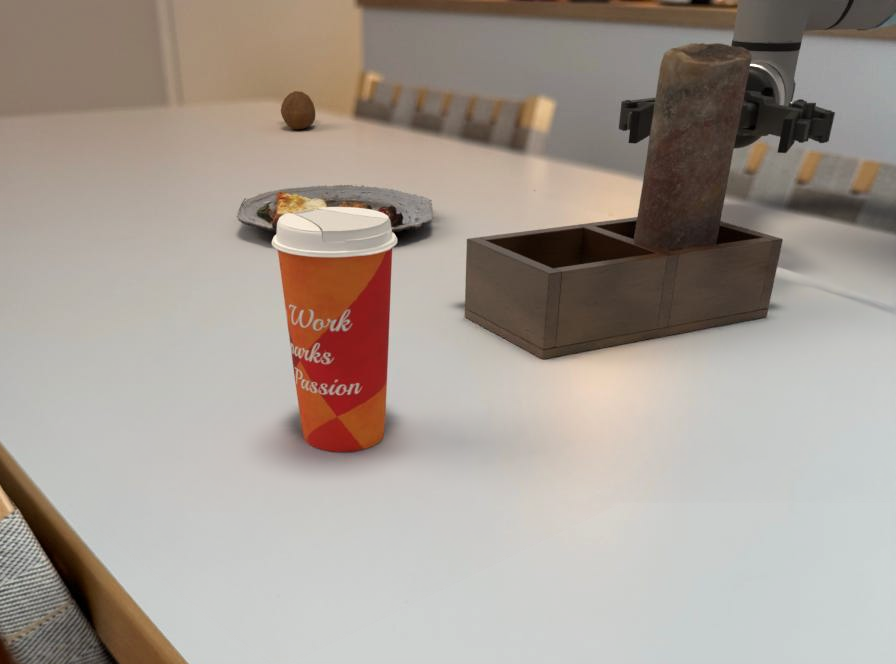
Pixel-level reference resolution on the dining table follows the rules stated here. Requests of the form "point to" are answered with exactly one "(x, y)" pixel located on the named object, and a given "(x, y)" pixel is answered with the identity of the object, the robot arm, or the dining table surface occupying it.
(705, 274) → the brown wooden divided box
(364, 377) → the paper cup
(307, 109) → the potato
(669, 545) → the dining table surface
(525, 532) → the dining table surface
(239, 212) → the food plate
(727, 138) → the candle
